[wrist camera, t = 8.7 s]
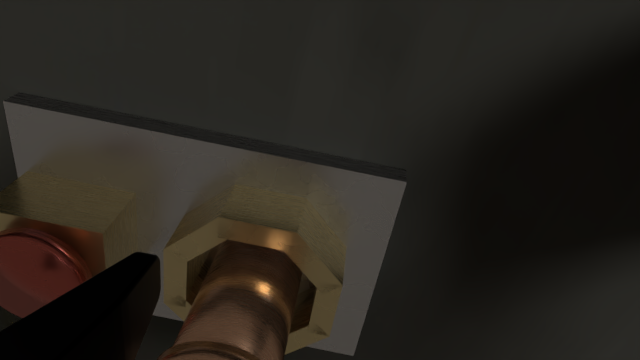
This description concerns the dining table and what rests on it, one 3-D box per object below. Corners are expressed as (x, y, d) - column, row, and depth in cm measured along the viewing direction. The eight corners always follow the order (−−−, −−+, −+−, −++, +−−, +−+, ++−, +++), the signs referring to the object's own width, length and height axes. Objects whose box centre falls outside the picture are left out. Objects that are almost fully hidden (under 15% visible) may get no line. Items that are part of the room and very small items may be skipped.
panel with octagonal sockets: (405, 170, 21) (412, 247, 16) (354, 341, 26) (348, 434, 22) (18, 92, 21) (-83, 148, 16) (51, 279, 27) (-18, 358, 22)
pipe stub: (317, 226, 21) (286, 380, 15) (304, 300, 24) (272, 463, 17) (216, 207, 22) (137, 351, 15) (213, 283, 24) (144, 437, 17)
